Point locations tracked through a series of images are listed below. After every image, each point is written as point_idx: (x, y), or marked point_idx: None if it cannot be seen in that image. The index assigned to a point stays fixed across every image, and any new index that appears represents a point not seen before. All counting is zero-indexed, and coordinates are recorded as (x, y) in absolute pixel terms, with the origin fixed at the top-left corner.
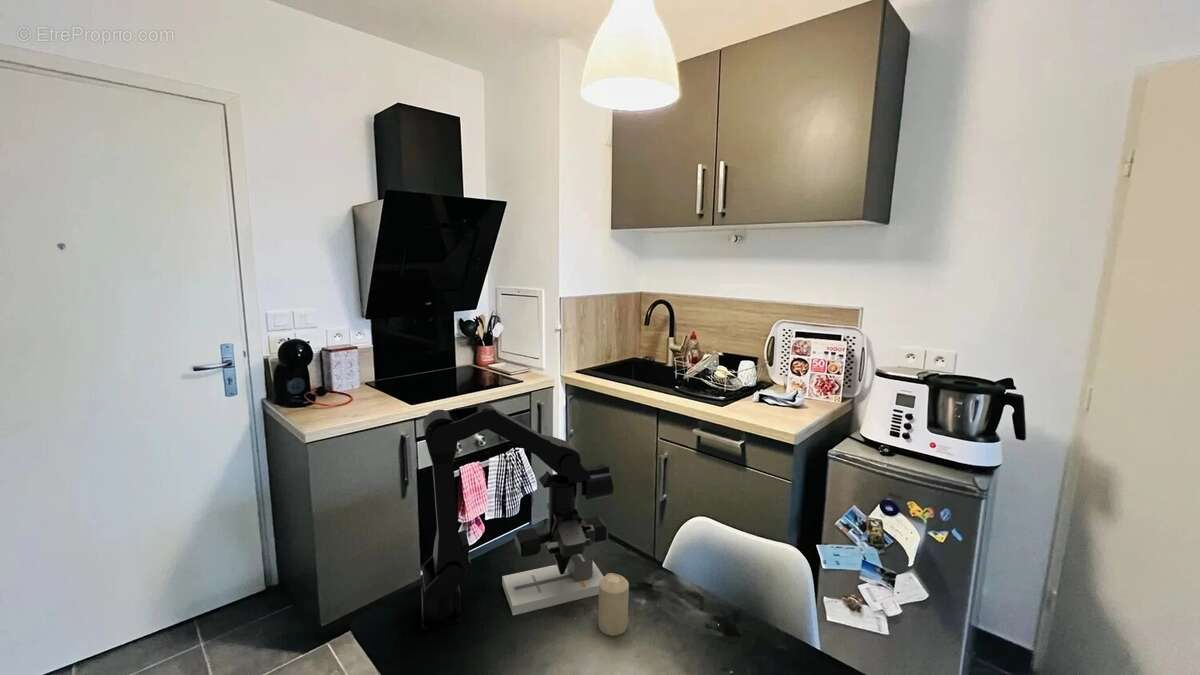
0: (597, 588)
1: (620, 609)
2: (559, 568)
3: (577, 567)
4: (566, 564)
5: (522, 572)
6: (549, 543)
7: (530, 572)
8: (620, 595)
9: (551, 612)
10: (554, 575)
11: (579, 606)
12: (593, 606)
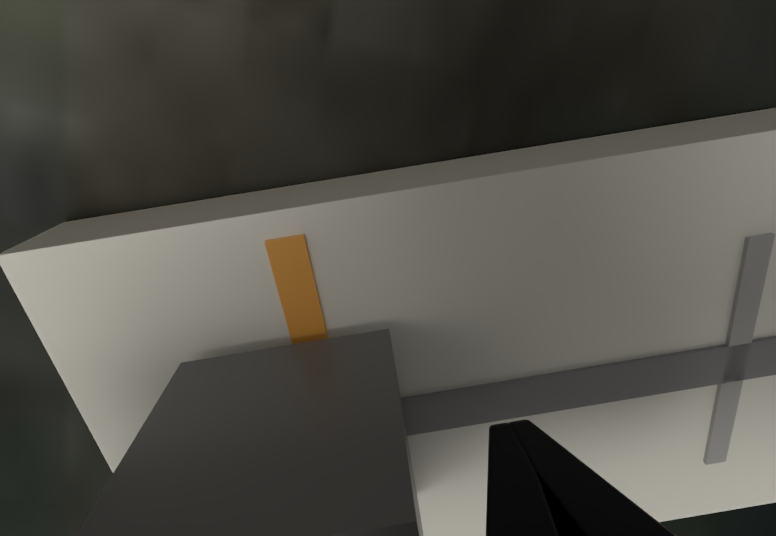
0: (146, 223)
1: None
2: (590, 473)
3: (357, 453)
4: (508, 522)
5: (765, 499)
6: None
7: (712, 492)
8: None
9: (649, 40)
10: None
11: (371, 69)
12: (228, 34)
